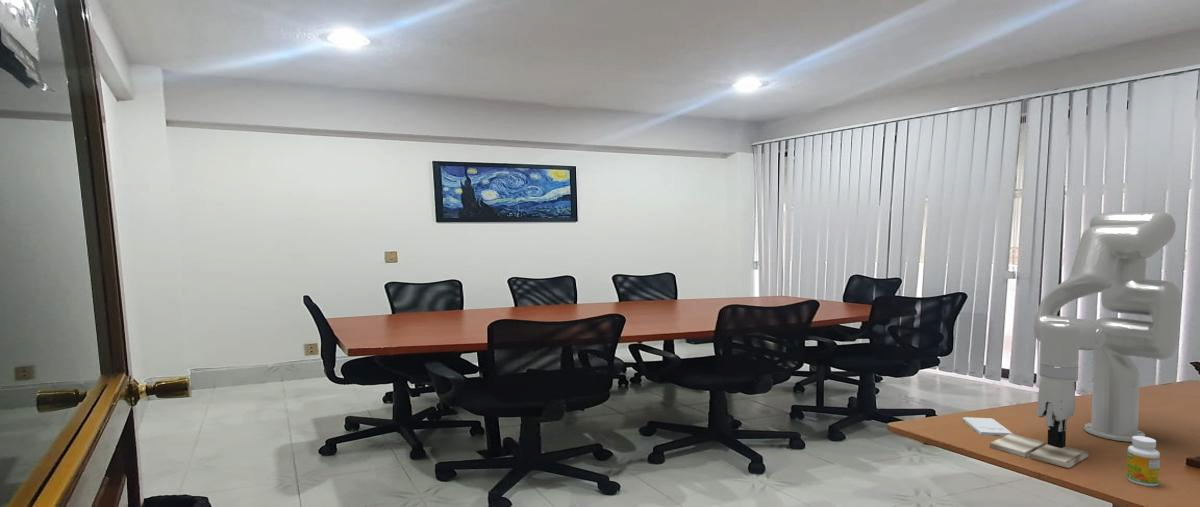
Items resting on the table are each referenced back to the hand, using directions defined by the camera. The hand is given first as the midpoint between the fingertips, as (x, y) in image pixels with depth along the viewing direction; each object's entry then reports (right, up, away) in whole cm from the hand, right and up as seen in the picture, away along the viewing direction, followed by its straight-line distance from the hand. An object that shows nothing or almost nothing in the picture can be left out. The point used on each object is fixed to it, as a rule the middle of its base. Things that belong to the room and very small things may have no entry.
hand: (1056, 445), depth 149 cm
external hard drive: (-3, -3, +22) cm, 22 cm away
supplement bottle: (+9, -4, -14) cm, 17 cm away
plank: (+1, -3, 0) cm, 3 cm away
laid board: (-5, -3, +7) cm, 9 cm away
